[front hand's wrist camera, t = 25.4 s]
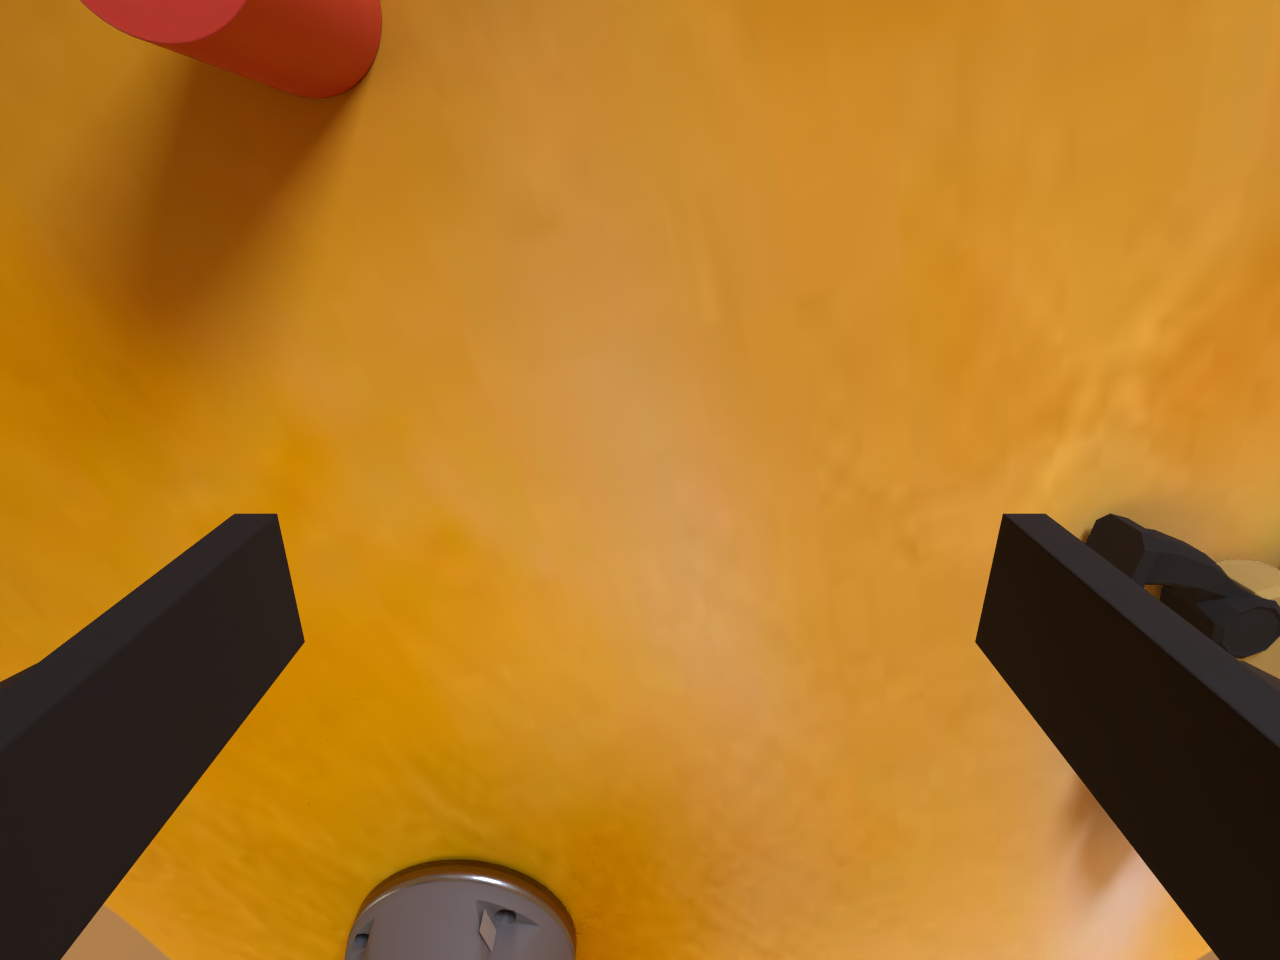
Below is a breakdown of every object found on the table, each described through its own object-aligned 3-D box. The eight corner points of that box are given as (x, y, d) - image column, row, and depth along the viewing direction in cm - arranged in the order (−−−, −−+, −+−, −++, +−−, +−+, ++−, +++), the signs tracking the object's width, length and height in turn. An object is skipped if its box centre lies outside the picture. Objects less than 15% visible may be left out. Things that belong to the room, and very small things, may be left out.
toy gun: (992, 873, 39) (1230, 904, 41) (1200, 454, 31) (1497, 510, 32) (957, 811, 44) (1174, 841, 45) (1132, 427, 35) (1396, 477, 36)
